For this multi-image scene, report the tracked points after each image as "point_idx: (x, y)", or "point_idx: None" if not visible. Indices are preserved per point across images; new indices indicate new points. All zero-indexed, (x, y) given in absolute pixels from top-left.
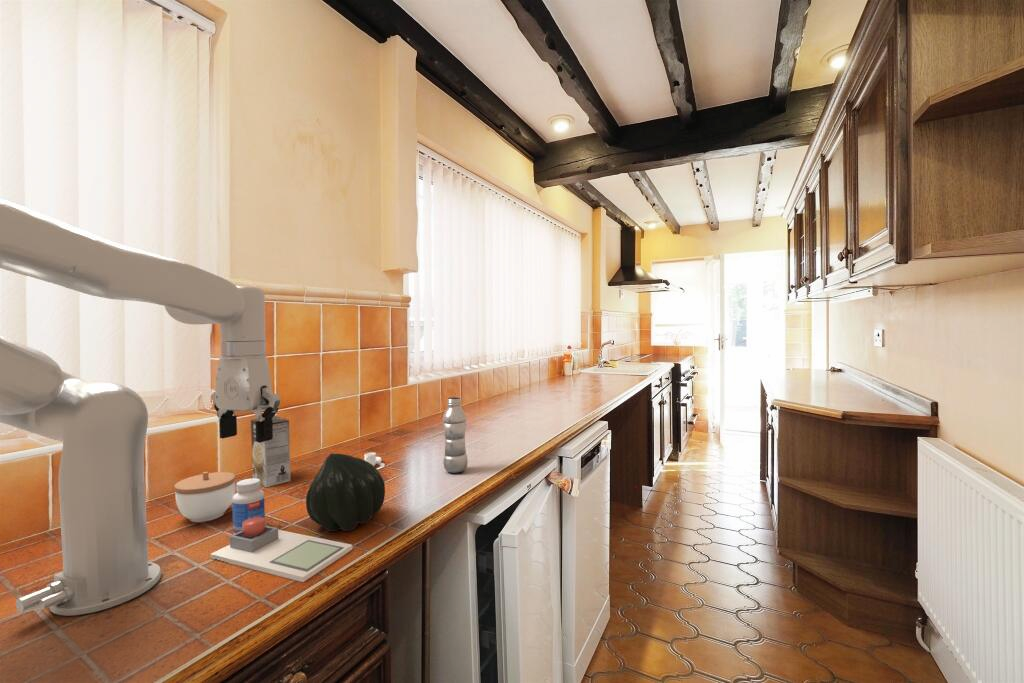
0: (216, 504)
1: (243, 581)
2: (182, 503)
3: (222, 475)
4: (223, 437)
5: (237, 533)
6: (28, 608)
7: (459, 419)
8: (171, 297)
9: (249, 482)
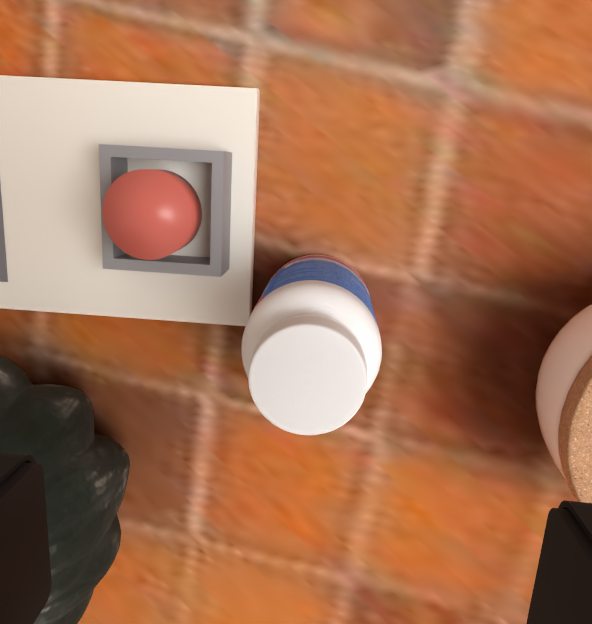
0: (547, 359)
1: (4, 7)
2: None
3: None
4: (551, 510)
5: (216, 182)
6: None
7: None
8: None
9: (286, 371)
